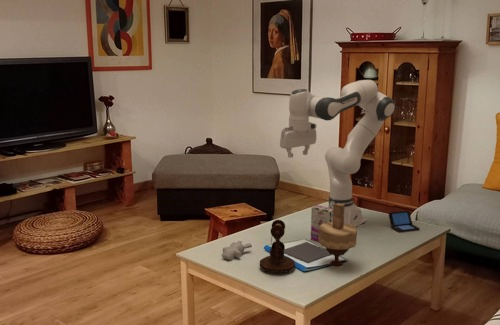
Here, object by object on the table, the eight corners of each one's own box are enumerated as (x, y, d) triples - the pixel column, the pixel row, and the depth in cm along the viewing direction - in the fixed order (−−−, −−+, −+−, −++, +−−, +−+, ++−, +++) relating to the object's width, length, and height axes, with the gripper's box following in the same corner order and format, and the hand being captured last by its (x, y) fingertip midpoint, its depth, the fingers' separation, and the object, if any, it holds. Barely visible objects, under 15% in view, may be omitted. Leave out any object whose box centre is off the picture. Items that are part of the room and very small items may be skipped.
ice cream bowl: (349, 270, 224) (351, 235, 221) (322, 268, 226) (323, 233, 223) (350, 260, 234) (351, 227, 231) (324, 258, 236) (325, 225, 233)
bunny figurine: (216, 249, 235) (236, 236, 247) (217, 260, 237) (237, 246, 249) (234, 254, 230) (253, 240, 242) (235, 265, 232) (254, 250, 243)
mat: (306, 242, 255) (306, 241, 254) (334, 253, 242) (334, 252, 242) (280, 251, 244) (280, 250, 244) (307, 263, 231) (307, 262, 231)
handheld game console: (399, 233, 269) (400, 218, 267) (386, 226, 279) (387, 212, 277) (420, 230, 273) (421, 216, 271) (407, 224, 283) (408, 210, 281)
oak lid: (335, 234, 239) (336, 197, 235) (363, 243, 228) (365, 205, 224) (311, 242, 229) (312, 203, 226) (339, 252, 218) (341, 212, 214)
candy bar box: (335, 243, 255) (337, 209, 251) (329, 245, 251) (331, 211, 248) (316, 237, 262) (317, 204, 259) (310, 239, 259) (311, 206, 255)
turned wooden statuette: (261, 260, 234) (261, 216, 229) (295, 262, 232) (296, 217, 228) (258, 274, 219) (258, 227, 215) (294, 276, 218) (295, 229, 214)
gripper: (286, 128, 236) (286, 160, 238) (319, 124, 249) (318, 154, 251) (276, 127, 240) (276, 157, 243) (308, 122, 253) (308, 152, 256)
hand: (297, 156), depth 247 cm, fingers open, 8 cm apart
